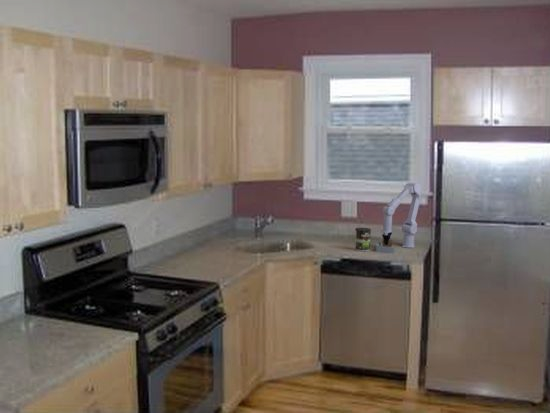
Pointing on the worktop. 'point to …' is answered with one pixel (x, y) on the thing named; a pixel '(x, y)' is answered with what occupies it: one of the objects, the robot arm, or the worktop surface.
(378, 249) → the cleat wall
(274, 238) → the worktop surface
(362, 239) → the coffee can
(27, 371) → the worktop surface
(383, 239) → the cabinet block
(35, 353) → the worktop surface
